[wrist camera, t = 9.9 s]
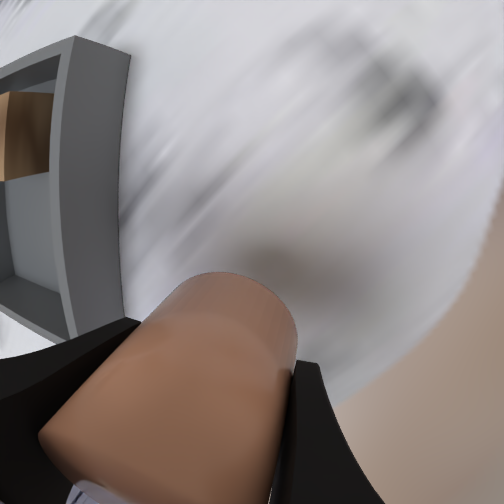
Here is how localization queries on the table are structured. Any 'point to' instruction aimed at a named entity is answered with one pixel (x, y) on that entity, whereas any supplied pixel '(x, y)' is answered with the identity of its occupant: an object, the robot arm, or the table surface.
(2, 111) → the walnut cube
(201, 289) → the terracotta cylinder
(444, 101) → the table surface
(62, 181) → the tote
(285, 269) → the table surface
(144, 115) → the table surface
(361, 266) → the table surface
